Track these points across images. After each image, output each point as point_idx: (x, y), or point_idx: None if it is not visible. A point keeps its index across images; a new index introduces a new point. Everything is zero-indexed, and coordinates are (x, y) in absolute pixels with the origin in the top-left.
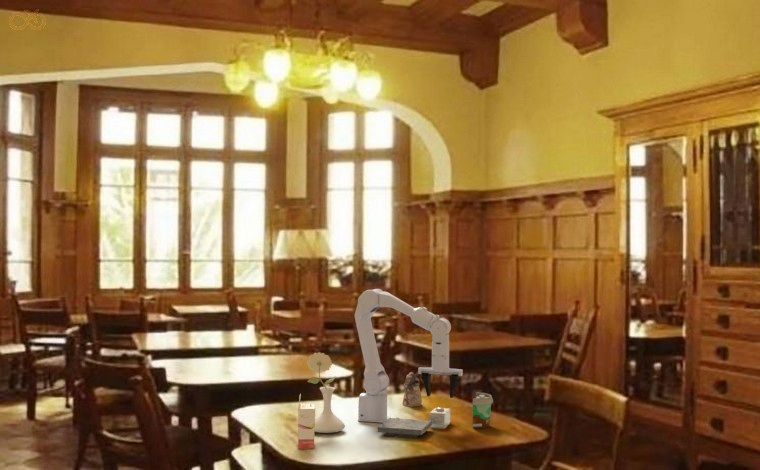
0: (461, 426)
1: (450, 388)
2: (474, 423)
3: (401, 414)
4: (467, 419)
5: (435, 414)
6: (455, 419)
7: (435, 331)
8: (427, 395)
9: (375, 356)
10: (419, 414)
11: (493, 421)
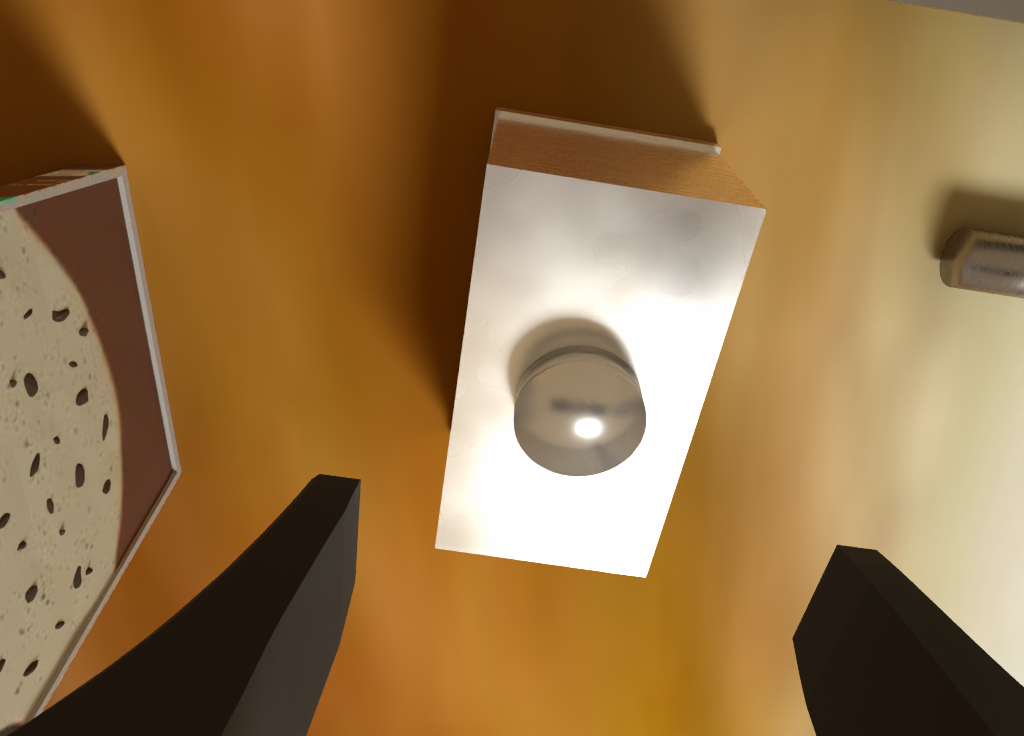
0: (296, 277)
1: (272, 620)
2: (62, 178)
3: None
4: None
5: (652, 182)
6: (414, 578)
7: None
8: (883, 561)
9: None
10: (775, 713)
11: None
